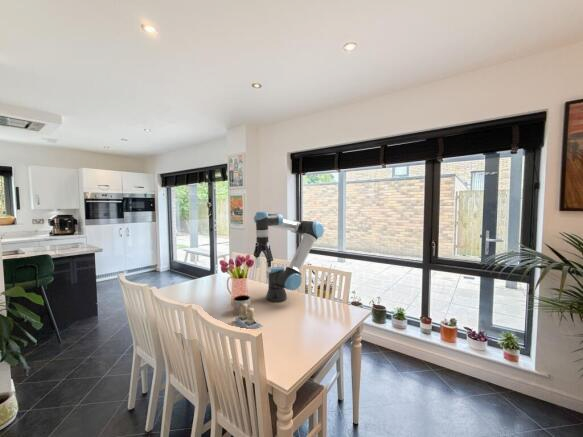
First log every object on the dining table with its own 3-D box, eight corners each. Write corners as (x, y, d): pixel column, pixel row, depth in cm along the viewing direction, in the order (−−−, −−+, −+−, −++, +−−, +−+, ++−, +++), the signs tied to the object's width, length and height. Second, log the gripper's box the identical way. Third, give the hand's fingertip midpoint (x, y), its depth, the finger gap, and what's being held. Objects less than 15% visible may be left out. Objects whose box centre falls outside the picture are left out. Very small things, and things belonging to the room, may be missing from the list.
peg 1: (245, 319, 155) (245, 302, 154) (248, 321, 152) (248, 305, 151) (239, 321, 152) (239, 304, 152) (242, 323, 149) (242, 306, 149)
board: (250, 317, 159) (250, 312, 159) (263, 327, 146) (263, 322, 146) (232, 322, 152) (231, 318, 151) (244, 333, 139) (244, 328, 139)
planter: (254, 311, 168) (253, 296, 167) (242, 317, 158) (242, 302, 158) (241, 307, 173) (241, 293, 173) (229, 313, 164) (229, 299, 163)
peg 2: (252, 324, 148) (251, 307, 148) (255, 326, 145) (255, 309, 144) (245, 326, 146) (245, 309, 145) (249, 329, 143) (248, 311, 142)
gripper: (247, 234, 169) (248, 266, 171) (267, 239, 149) (268, 275, 151) (257, 233, 174) (258, 264, 175) (278, 237, 154) (279, 272, 155)
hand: (263, 269), depth 163 cm, fingers open, 13 cm apart
